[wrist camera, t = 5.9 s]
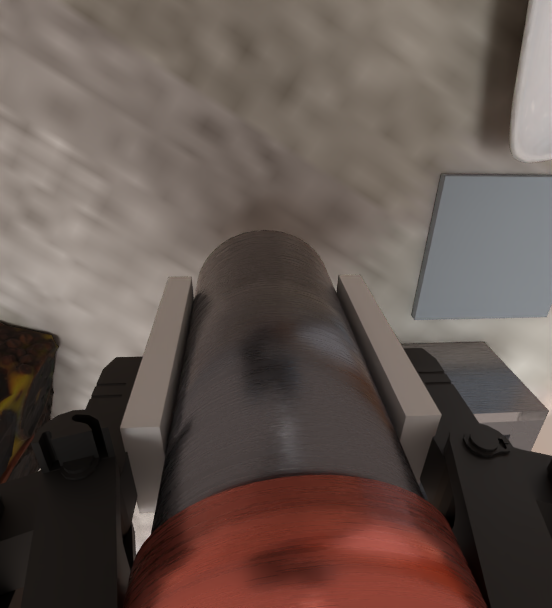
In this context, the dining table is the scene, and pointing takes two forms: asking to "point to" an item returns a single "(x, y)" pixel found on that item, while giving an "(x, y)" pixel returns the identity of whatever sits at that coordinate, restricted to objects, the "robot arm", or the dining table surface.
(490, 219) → the mat
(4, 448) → the candle
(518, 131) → the salad plate
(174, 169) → the dining table surface
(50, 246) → the dining table surface
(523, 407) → the shallow square tray
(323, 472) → the jar with red lid
